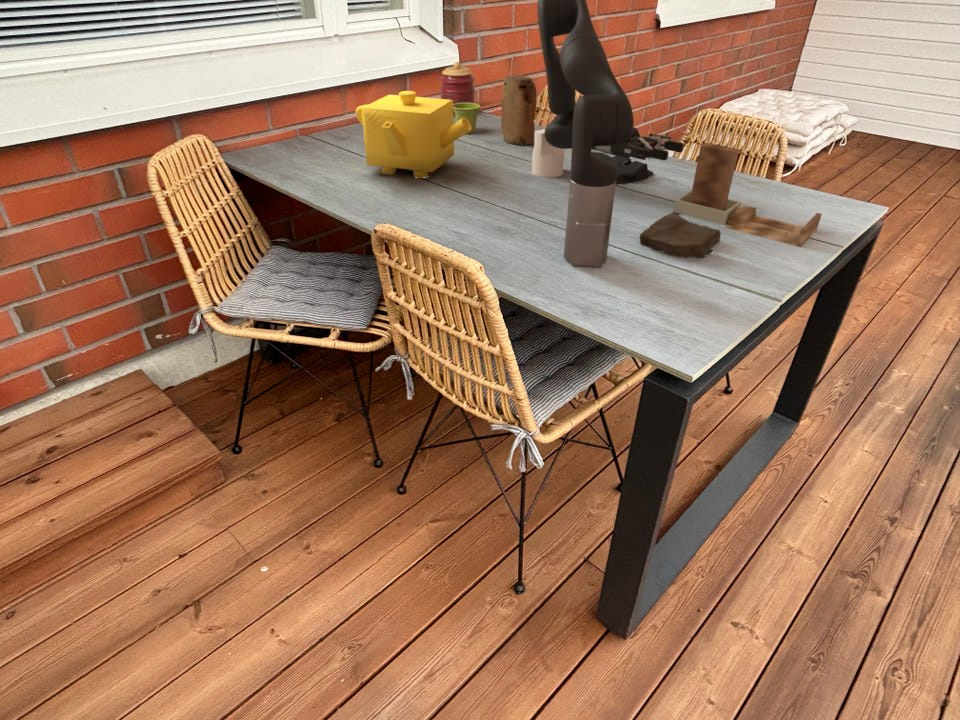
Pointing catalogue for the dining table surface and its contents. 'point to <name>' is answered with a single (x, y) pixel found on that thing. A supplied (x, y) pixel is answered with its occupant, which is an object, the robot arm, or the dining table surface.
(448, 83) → the canister
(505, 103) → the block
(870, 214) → the dining table surface
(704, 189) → the board
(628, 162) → the dark slate chunk
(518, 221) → the dining table surface
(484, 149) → the dining table surface
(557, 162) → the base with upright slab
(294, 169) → the dining table surface
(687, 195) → the tray
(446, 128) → the cube teapot
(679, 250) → the brown irregular slab
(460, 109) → the plant pot
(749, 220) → the rack
